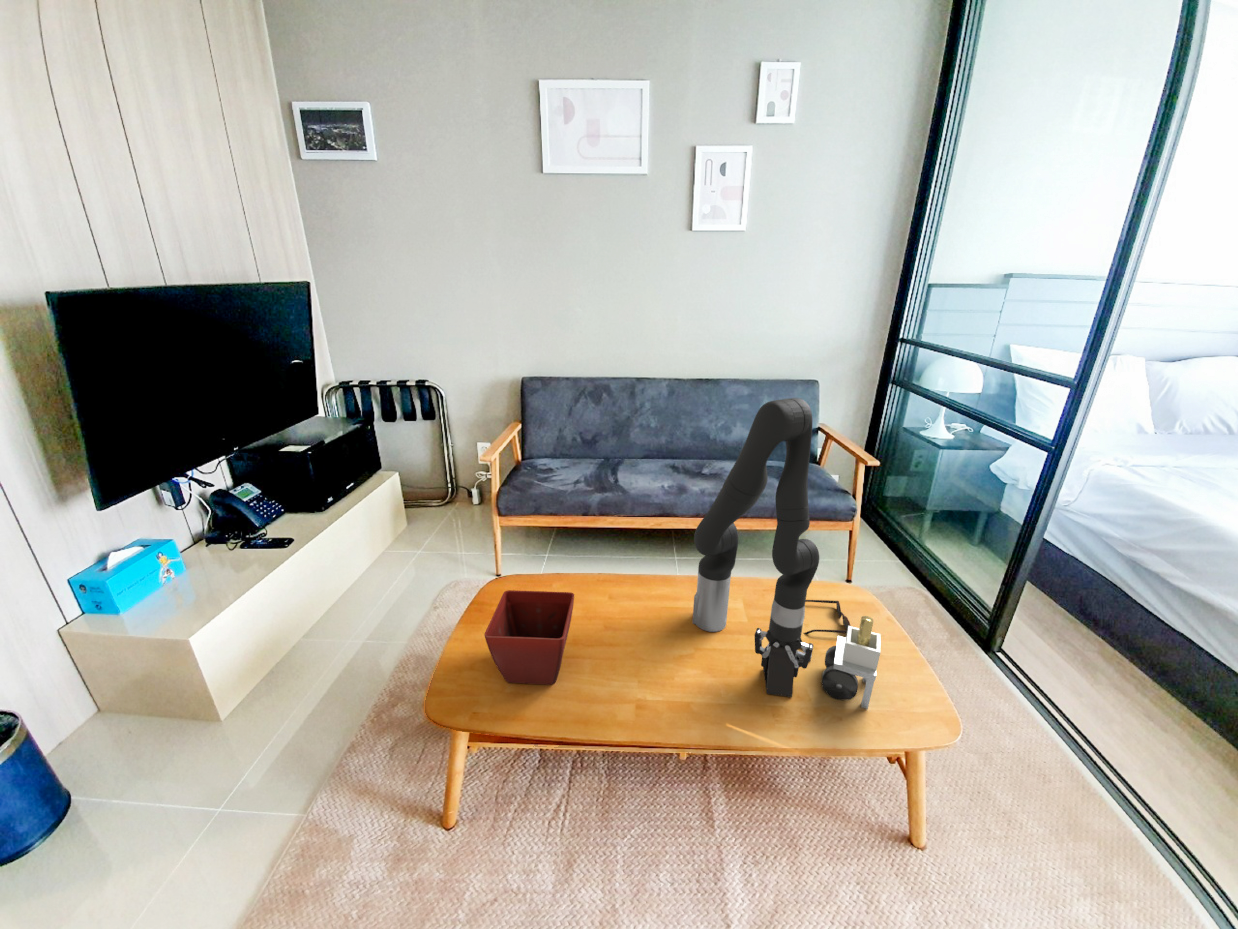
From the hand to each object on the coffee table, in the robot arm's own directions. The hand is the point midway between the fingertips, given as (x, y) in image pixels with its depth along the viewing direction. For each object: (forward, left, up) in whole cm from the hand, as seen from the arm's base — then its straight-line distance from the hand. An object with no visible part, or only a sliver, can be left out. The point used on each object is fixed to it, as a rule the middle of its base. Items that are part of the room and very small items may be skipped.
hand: (778, 671), depth 127 cm
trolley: (+14, +6, -3) cm, 15 cm away
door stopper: (0, 0, -3) cm, 3 cm away
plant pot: (-58, -23, -4) cm, 63 cm away
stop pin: (+17, +6, +8) cm, 20 cm away
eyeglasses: (+7, +31, -4) cm, 31 cm away
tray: (+17, +6, +7) cm, 20 cm away
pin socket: (+4, +14, -3) cm, 15 cm away
